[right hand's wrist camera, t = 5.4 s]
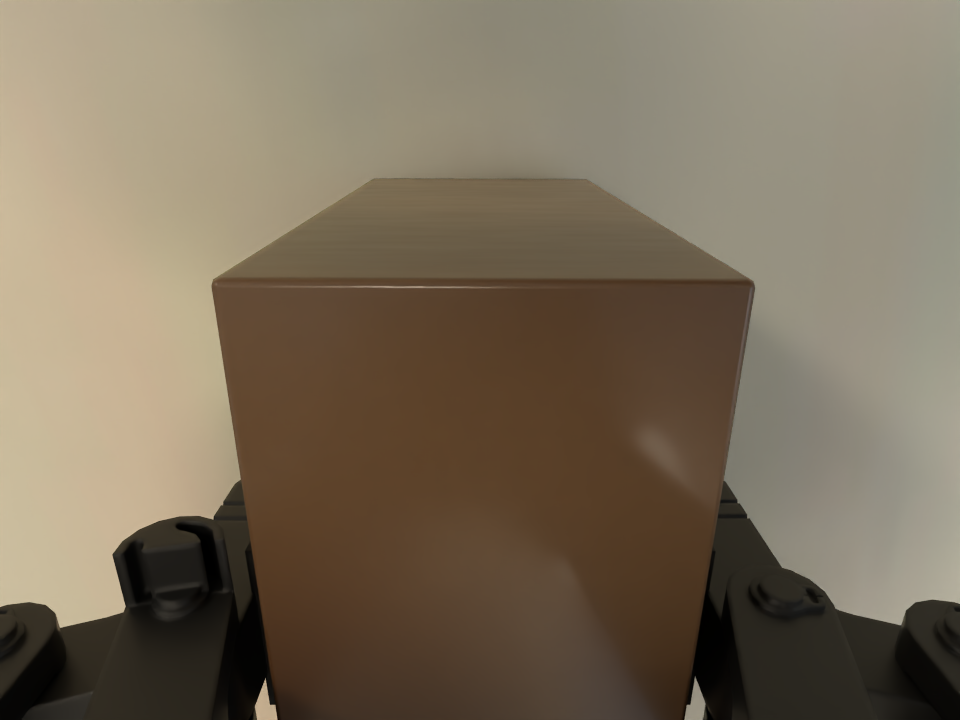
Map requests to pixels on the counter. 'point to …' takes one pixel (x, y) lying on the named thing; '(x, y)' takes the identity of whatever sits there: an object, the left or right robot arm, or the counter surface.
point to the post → (482, 450)
